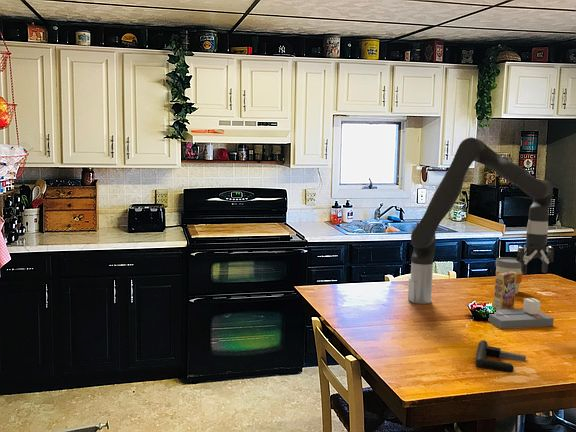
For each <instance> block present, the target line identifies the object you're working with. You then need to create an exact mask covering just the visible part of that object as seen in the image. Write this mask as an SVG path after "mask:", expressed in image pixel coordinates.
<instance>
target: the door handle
mask: <svg viewBox="0 0 576 432" xmlns="http://www.w3.org/2000/svg"><path fill="white" fill-rule="evenodd" d="M477 346H478V347H477V352H476V357H475V358H473V357H472V359H474V360H475V361H472V362H474V364H475V366H476V367H478V368H486V369H491V370H496V371H500V372H501V371H502V372H506V373H512V372H514V369H515V367H514V365H513V364H511V363H508V362H502V361H501V359H502V358H503V359H507V360H516V361H520V362H521V361H522V362H526V360H527V359H526V358H527V355H525V354H521V353H513V352H508V351H504V350H502V348H500V347H497V346H496V347H495V346H489V345H488V342H487V340H485V339H482V340H480V341H479V342H478V343H477ZM487 357H489V358H496V359H498V360H495V359H493V360H492V359H487Z"/></svg>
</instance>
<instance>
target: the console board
mask: <svg viewBox="0 0 576 432" xmlns="http://www.w3.org/2000/svg"><path fill="white" fill-rule="evenodd" d="M495 310H496V313H494V314H489V318H488V321H487V322H489V323H490V324H492V325H494V326H495V327H497V328H499V329H501V330H502V329H517V328H520V329H521V328H522V329H523V328H536V327H537V328H538V327H541V328H542V327H553V326H554V320H555V319H554V317H551V316H550V315H548V314H546V313H544V312H542V311H540V314H529V313H527V312H525V311H523V307H522V308H520V307H519V308H508V309H499V310H498V309H495Z"/></svg>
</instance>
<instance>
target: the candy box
mask: <svg viewBox="0 0 576 432" xmlns="http://www.w3.org/2000/svg"><path fill="white" fill-rule="evenodd" d="M516 276H517V273H515V272H511V271H508V272H502V273H496V272H495V280H494V293H493V294H494V295H493V305H492V307H493V306H495V307H496V308H497V309H496V310H499V309H514V307H515V297H516V296H515V295H516V294H515V287H516Z"/></svg>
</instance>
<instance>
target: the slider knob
mask: <svg viewBox="0 0 576 432" xmlns="http://www.w3.org/2000/svg"><path fill="white" fill-rule="evenodd" d="M522 308H523V311H525V312H527V313H529V314H540V312H541V301H540V300H538V299H536V298H534V297H527V298H523V306H522Z"/></svg>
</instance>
